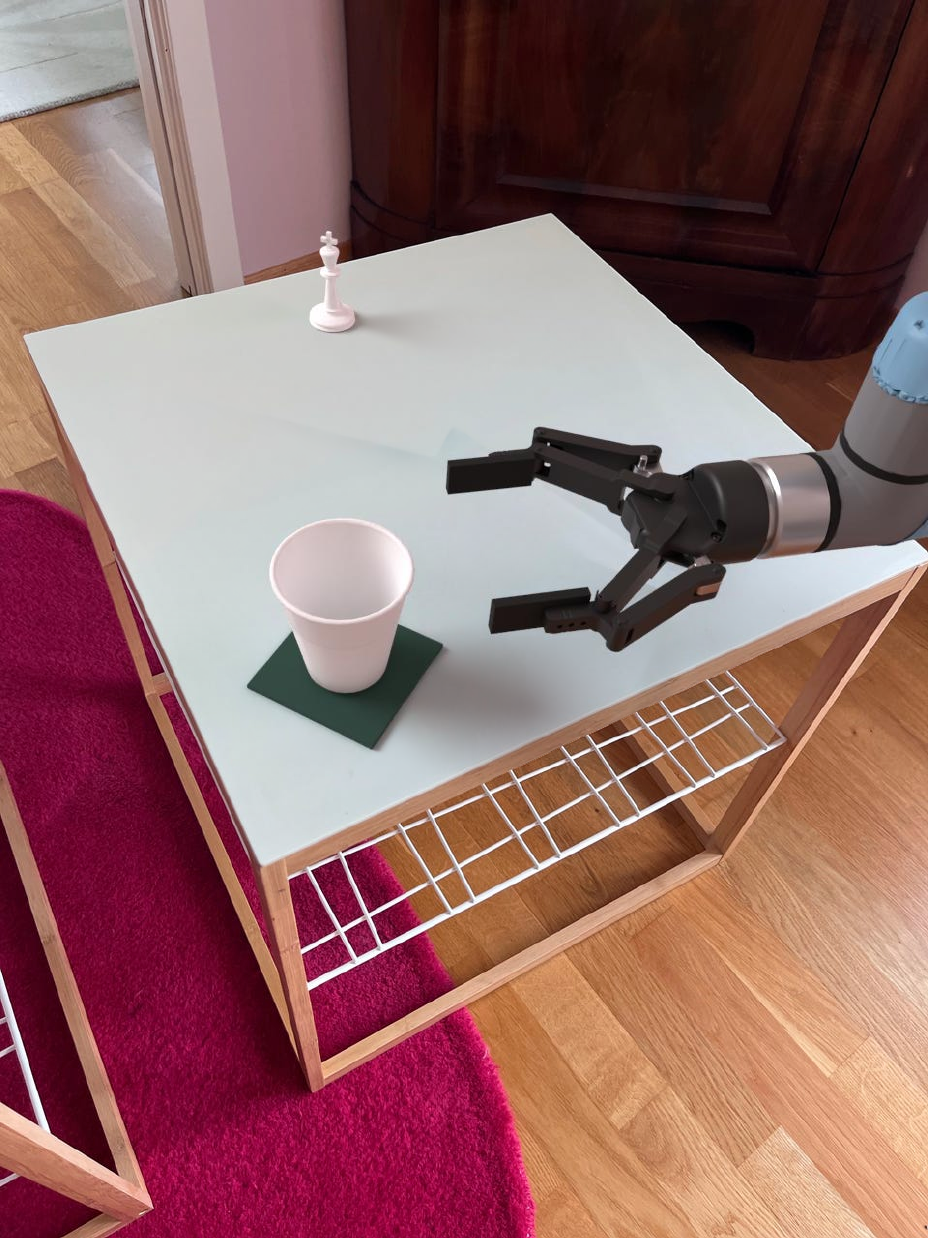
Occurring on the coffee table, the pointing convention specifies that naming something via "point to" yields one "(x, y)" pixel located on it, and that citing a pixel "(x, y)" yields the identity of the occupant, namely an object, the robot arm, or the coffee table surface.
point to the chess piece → (331, 293)
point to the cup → (343, 597)
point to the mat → (348, 712)
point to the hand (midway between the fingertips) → (467, 542)
